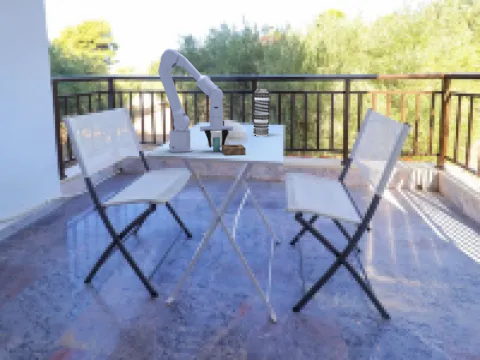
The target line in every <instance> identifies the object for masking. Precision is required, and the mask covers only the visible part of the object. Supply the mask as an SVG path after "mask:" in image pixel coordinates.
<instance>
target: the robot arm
mask: <svg viewBox="0 0 480 360" xmlns="http://www.w3.org/2000/svg"><path fill="white" fill-rule="evenodd" d="M175 66H177V67H181V68H184V70H185V71H186V72H187V73H188V74H189V75H191V77H192V78H194V80H196V86H197V87H198V88H199V89H200V90H201V91H202V92H203V93H204V94H205V95H206V96H208V98H209V100H210V103H209V104H210V106H209V125H207V126H206V125H205V126H199V131H200V132H204V134H205V136H206V139H207V144H208V143H209V145H208V147H209V149H211V148H212V145H211V132H210V131H222V145H224V144H225V140H226V137H227V135H228V136H229V134H230V133H229V131H230V132H233V131H234V126H232V125H224V126H223V121H224V117H223V116H224V106H223V104H224V103H223V102H224V101H223V99H224V93H223V90H222V89H220V88H219V85H216V84H215V83H214V82H213V81H212V80H211V76H207V75H205V74H204V75H203V74H201V73H200V72H199V71H198V69H197V68H196V67H195V66H194V65H193V63H191V62H190V60H189V59H187V57H186V56H184V55H183V54H182V53H180V52H179V51H178V50H177V49H174V48H167V49H165V50H164V51H163V53H162V54H161V56H160V61H159V64H158V76H159V79H160V81H161V84H162V87H163V90H164V92H165V96H166V98H167V100H168V104H169V105H170V108H171V113H172V114H171V115H172V118H173V127H174V129H173V130H169V131H168V132H169V135H168V137H169V143H168V148H169V150H170V151H169V152H170V153H181V152H182V153H185V152H193V149H192V148H191V129H190V127H189V126H190V124H191V119H190V117H189V116H188V115H187V114H186V111H185V109H184V107H183V105H182V101H181V100H180V97H179V94H178V91H177V88H176V85H175V83H174V79H173V77H172V74H171V73H172V71H173V70H174V67H175ZM213 129H222V130H213Z"/></svg>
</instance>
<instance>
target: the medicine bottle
mask: <svg viewBox="0 0 480 360" xmlns="http://www.w3.org/2000/svg"><path fill="white" fill-rule="evenodd" d="M223 126H225V121H224V120H223ZM213 130H222V129H213ZM210 132H211V147H213V137H220V147H222V131H210ZM207 145H208V146H209V143H208V142H207ZM224 145H229V134H228V135H227V137H226V140H225V144H224Z"/></svg>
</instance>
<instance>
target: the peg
mask: <svg viewBox="0 0 480 360" xmlns="http://www.w3.org/2000/svg"><path fill="white" fill-rule="evenodd" d="M212 148H213V150H212V152H215V153H216V152H217V153H218V152H220V151H221V146H220V137H213V146H212Z"/></svg>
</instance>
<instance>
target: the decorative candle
mask: <svg viewBox="0 0 480 360" xmlns="http://www.w3.org/2000/svg"><path fill="white" fill-rule="evenodd" d="M269 94H270V91H269V90H268V89H266V88H257V89H256V90H255V91H254V99H253V101H252V103H254V104H253V110H254V111H253V115H254V119H253V128H252V129H253V132H252V133H253V136H254V135H256V136H255V137H268V136H267V135H269V131H270V129H269V128H270V126H269V124H270V123H269V115H270V108H269V107H270V104H271V101H270V97H269Z"/></svg>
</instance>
